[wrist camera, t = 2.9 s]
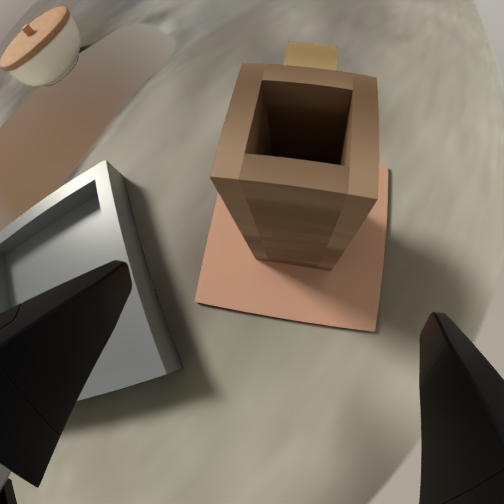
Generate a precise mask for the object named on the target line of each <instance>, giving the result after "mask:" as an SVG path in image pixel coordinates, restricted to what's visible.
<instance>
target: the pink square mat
mask: <svg viewBox="0 0 504 504" xmlns="http://www.w3.org/2000/svg"><path fill="white" fill-rule="evenodd" d="M387 205H388V165H386V164H381V163H379V184H378V200H377V202H376V203H375V205H374V206H373V208H372V210H371V211H370V213H369V214H368V216H367V217H366V219H365V221H364V222H363V224H362V225H361V227H360V228H359V230H358V231H357V233H356V235H355V236H354V238H353V239H352V241H351V242H350V244H349V245H348V247H347V248H346V250H345V251H344V253H343V254H342V256H341V257H340V259H339V260H338V262H337V263H336V264H335V266H334V267H333V269H332V270H331V271H329V270H322V269H316V268H309V267H303V266H296V265H290V264H284V263H277V262H271V261H264V260H258V259H255V257H254V256H253V254H252V252H251V250H250V248H249V247H248V245H247V243H246V241H245V239H244V238H243V236H242V234H241V232H240V230H239V229H238V227H237V225H236V223H235V221H234V220H233V218H232V216H231V214H230V212H229V211H228V209H227V207H226V205H225V203H224V202H223V200H222V198H221V196H220V194H219V193H218V196H217V201H216V205H215V209H214V213H213V218H212V222H211V227H210V231H209V235H208V240H207V244H206V249H205V254H204V258H203V263H202V268H201V272H200V277H199V282H198V287H197V292H196V297H195V302H198V303H203V304H208V305H213V306H218V307H223V308H228V309H233V310H238V311H244V312H249V313H255V314H260V315H266V316H272V317H277V318H283V319H289V320H295V321H302V322H308V323H315V324H321V325H328V326H335V327H342V328H349V329H357V330H364V331H372V332H375V328H376V321H377V315H378V307H379V300H380V292H381V284H382V274H383V264H384V253H385V241H386V225H387Z"/></svg>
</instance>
